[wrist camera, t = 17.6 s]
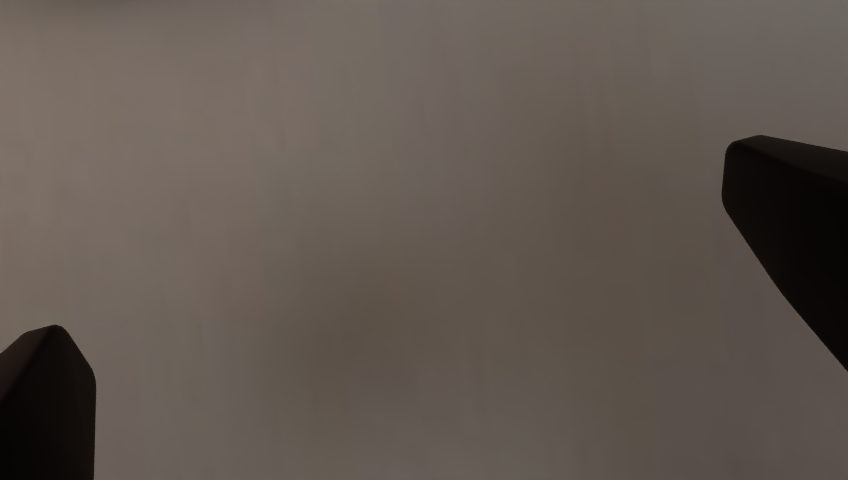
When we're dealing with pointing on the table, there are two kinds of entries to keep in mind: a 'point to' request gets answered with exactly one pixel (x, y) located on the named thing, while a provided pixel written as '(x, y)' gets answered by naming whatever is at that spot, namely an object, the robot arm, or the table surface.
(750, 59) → the table surface
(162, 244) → the table surface
